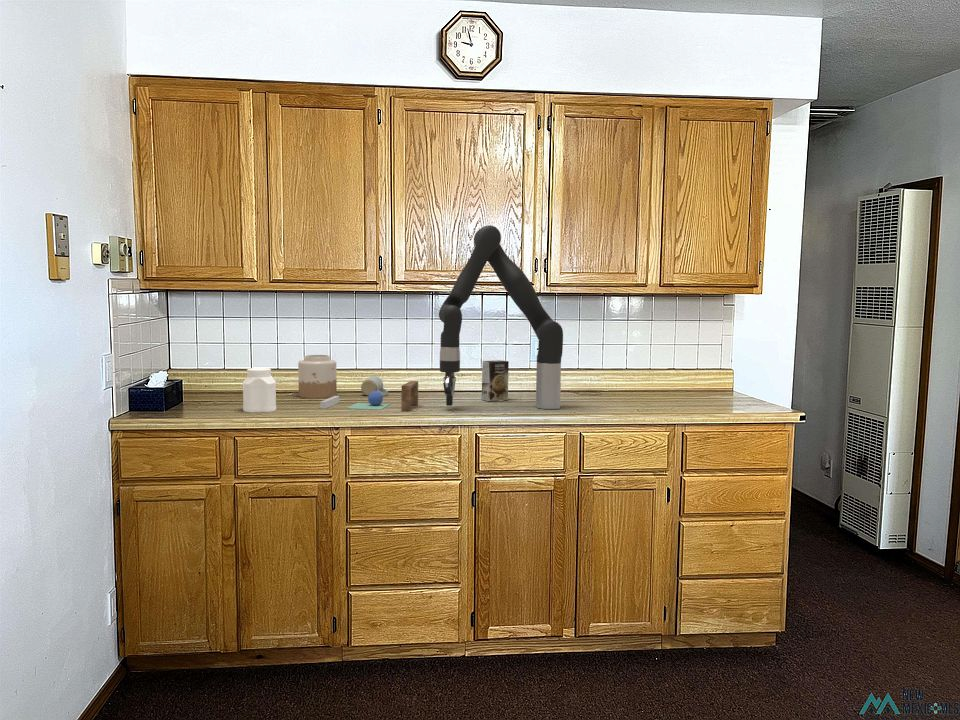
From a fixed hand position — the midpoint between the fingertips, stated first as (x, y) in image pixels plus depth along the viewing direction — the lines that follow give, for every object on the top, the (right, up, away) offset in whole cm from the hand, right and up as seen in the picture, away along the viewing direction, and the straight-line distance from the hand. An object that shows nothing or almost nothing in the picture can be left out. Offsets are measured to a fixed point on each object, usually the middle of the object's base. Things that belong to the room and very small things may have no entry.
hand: (449, 405), depth 276 cm
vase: (-55, +2, +30) cm, 63 cm away
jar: (-69, -2, -7) cm, 69 cm away
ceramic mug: (-33, +2, +35) cm, 48 cm away
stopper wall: (-46, 0, +6) cm, 46 cm away
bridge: (-15, -1, +2) cm, 15 cm away
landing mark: (-31, -1, +4) cm, 31 cm away
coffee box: (+17, 0, +24) cm, 30 cm away
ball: (-28, +2, +6) cm, 29 cm away
